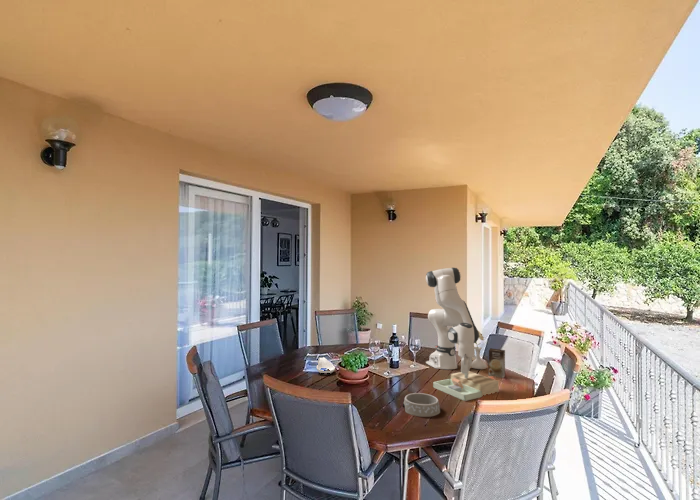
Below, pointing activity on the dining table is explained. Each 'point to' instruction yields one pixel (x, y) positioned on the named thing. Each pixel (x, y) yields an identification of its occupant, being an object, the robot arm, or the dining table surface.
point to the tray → (464, 395)
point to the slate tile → (455, 388)
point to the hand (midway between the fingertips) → (466, 377)
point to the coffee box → (496, 363)
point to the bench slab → (478, 382)
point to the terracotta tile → (457, 382)
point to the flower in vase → (478, 357)
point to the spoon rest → (324, 365)
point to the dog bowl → (421, 405)
